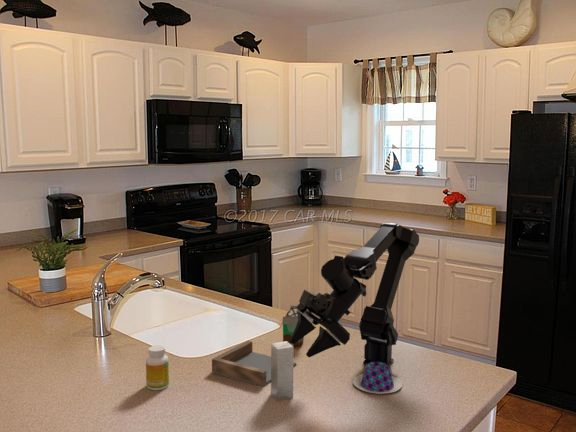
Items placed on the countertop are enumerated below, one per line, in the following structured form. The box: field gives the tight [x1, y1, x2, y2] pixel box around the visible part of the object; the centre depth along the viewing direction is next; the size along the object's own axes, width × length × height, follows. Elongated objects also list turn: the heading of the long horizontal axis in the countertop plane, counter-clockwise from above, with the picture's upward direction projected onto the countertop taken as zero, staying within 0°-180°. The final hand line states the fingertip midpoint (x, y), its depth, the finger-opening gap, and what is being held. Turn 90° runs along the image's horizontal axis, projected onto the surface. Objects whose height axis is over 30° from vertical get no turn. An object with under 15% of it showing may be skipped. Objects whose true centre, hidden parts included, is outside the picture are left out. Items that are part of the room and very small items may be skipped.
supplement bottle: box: [145, 345, 170, 391], centre depth 139 cm, size 5×5×10 cm
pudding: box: [352, 362, 403, 395], centre depth 141 cm, size 12×12×5 cm
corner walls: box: [211, 340, 266, 384], centre depth 150 cm, size 16×16×3 cm
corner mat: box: [211, 351, 297, 388], centre depth 150 cm, size 16×16×1 cm
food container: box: [281, 304, 305, 349], centre depth 167 cm, size 12×6×10 cm, turn 168°
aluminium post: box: [270, 341, 295, 402], centre depth 134 cm, size 4×4×12 cm
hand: (299, 349), depth 135 cm, fingers open, 9 cm apart
